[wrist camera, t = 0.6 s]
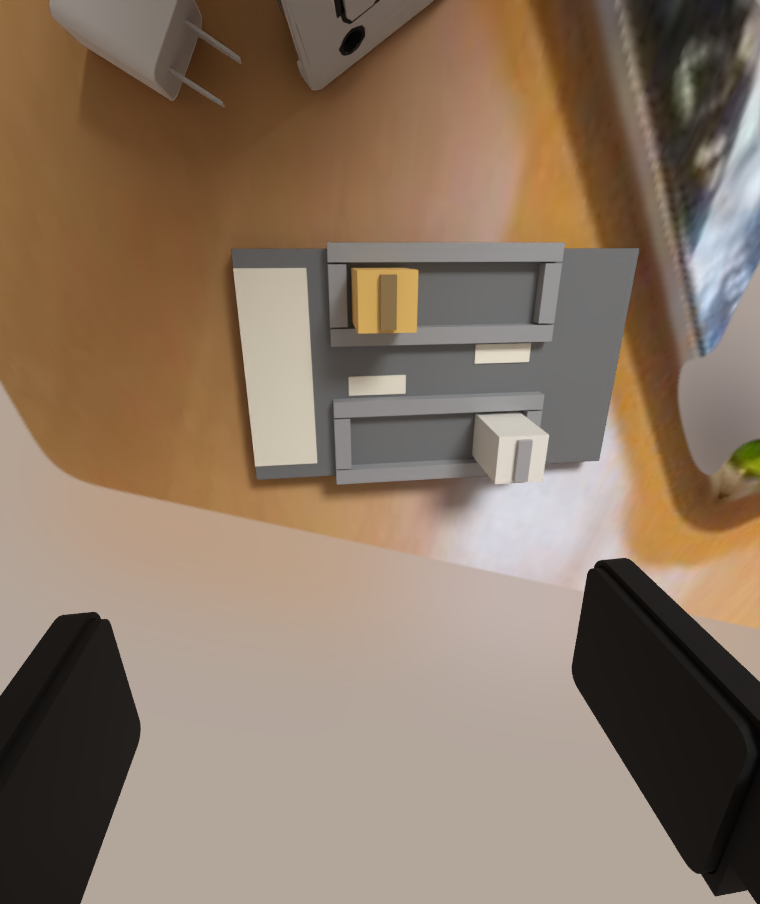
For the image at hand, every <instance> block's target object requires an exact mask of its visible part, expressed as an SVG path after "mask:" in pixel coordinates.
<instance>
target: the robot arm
mask: <svg viewBox="0 0 760 904" xmlns="http://www.w3.org/2000/svg"><path fill="white" fill-rule="evenodd" d="M572 674H573V679H574V682H575V684H576V686H577V688H578V690H579V691H580V693H581V694H582V696H583V697H584V699H585V701H586V702H587V704H588V706H589V707H590V709H591V711H592V712H593V714H594V715H595V717H596V719H597V720H598V722H599V724H600V725H601V727H602V728H603V730H604V732H605V733H606V735H607V737H608V738H609V740H610V741H611V743H612V745H613V746H614V748H615V750H616V751H617V753H618V754H619V756H620V758H621V759H622V761H623V763H624V764H625V766H626V767H627V769H628V771H629V772H630V774H631V775H632V777H633V778H634V780H635V782H636V783H637V785H638V787H639V788H640V790H641V792H642V793H643V795H644V796H645V798H646V800H647V801H648V803H649V805H650V806H651V808H652V810H653V811H654V813H655V814H656V816H657V818H658V819H659V821H660V823H661V824H662V826H663V827H664V829H665V830H666V832H667V834H668V836H669V837H670V838H671V840H672V842H673V843H674V845H675V847H676V848H677V850H678V852H679V853H680V855H681V857H682V858H683V860H684V861H685V863H686V864H687V865H688V867H689V868H690V869H691V870H692V871H694V872H695V873H697V874H701V875H702V876H703V878H704V880H705V881H706V883H707V884H708V886H709V887H710V889H711V891H712V892H713V894H714V895H715V896H720V895H725V894H731V893H736V892H741V891H746V890H748V891H749V893H750V894H751V896H752V897H753V898H754V900H755V901H756V903H757V904H760V682H759V681H758V680H757V679H756V678H755V677H754V676H753V675H752V674H751V673H750V672H749V671H748V670H747V669H746V668H745V667H744V666H742V665H741V664H740V663H739V662H738V661H737V660H736V659H735V658H734V657H733V656H732V655H731V654H729V652H728V651H727V650H725V649H724V648H723V647H722V646H721V645H720V644H719V643H718V642H717V641H716V640H715V639H714V638H713V637H712V636H711V635H710V634H709V633H708V632H706V631H705V630H704V629H703V628H702V627H701V626H700V625H699V624H698V623H697V622H696V621H695V620H694V619H693V618H692V617H691V616H690V615H689V614H687V613H686V612H685V611H684V610H683V609H682V608H681V607H680V606H679V605H678V604H677V603H676V602H675V601H674V600H673V599H672V598H671V597H670V596H668V595H667V594H666V593H665V592H664V591H663V590H662V589H661V588H660V587H659V586H658V585H657V584H656V583H655V582H654V581H653V580H652V579H650V578H649V577H648V576H647V575H646V574H645V573H644V572H643V571H642V570H641V569H640V568H639V567H638V566H637V565H636V564H635V563H634V562H632V561H631V560H630V559H627V558H620V559H610V560H600V561H598V562H597V563H596V564H595V566H594V568H593V569H590V570H589V571H588V574H587V579H586V585H585V591H584V597H583V603H582V609H581V615H580V621H579V627H578V633H577V639H576V645H575V650H574V656H573V663H572ZM140 729H141V728H140V720H139V717H138V713H137V710H136V707H135V703H134V700H133V697H132V693H131V690H130V687H129V684H128V680H127V677H126V673H125V670H124V667H123V663H122V660H121V657H120V653H119V650H118V647H117V643H116V640H115V637H114V633H113V630H112V627H111V624H110V622H109V621H108V620H107V619H101V618H100V616H99V615H98V614H97V613H96V612H89V613H78V614H69V615H62V616H59V617H58V618H57V619H56V620H55V621H54V622H53V623H52V625H51V626H50V628H49V629H48V630H47V632H46V633H45V634H44V636H43V637H42V639H41V640H40V641H39V643H38V644H37V646H36V647H35V649H34V650H33V651H32V653H31V654H30V655H29V657H28V658H27V660H26V661H25V662H24V664H23V665H22V667H21V668H20V669H19V671H18V672H17V673H16V675H15V676H14V678H13V679H12V680H11V682H10V683H9V685H8V686H7V687H6V689H5V690H4V692H3V693H2V694H1V696H0V904H80V903H81V900H82V898H83V895H84V892H85V889H86V887H87V884H88V881H89V878H90V876H91V873H92V870H93V867H94V865H95V862H96V859H97V856H98V854H99V851H100V848H101V845H102V842H103V839H104V837H105V834H106V831H107V829H108V826H109V823H110V820H111V818H112V815H113V812H114V809H115V806H116V804H117V801H118V798H119V796H120V793H121V789H122V787H123V785H124V782H125V779H126V776H127V773H128V771H129V768H130V765H131V762H132V760H133V757H134V754H135V751H136V749H137V746H138V742H139V738H140Z"/></svg>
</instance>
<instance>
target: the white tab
mask: <svg viewBox="0 0 760 904" xmlns="http://www.w3.org/2000/svg"><path fill="white" fill-rule="evenodd" d="M548 440H549V434H547V433H546V432H545V431H544V430H542V429H541V428H540V427H538V426H537V425H536V424H534V423H533V422H532V421H531V420H529V419H528V418H527V417H525V416H524V415H523V414H521V413H520V412H519V411H518V412H494V413H475V423H474V436H473V448H472V456H473V457H474V458H475V460H476V461H477V462H478V463H479V465H480V466H481V467H482V469H483V470H484V471H485V472H486V474H487V475H488V476H489V477H490V479H491V480H492V481H493V483H494V484H507V483H524V482H540V481H543V475H544V468H545V461H546V454H547V447H548Z"/></svg>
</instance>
